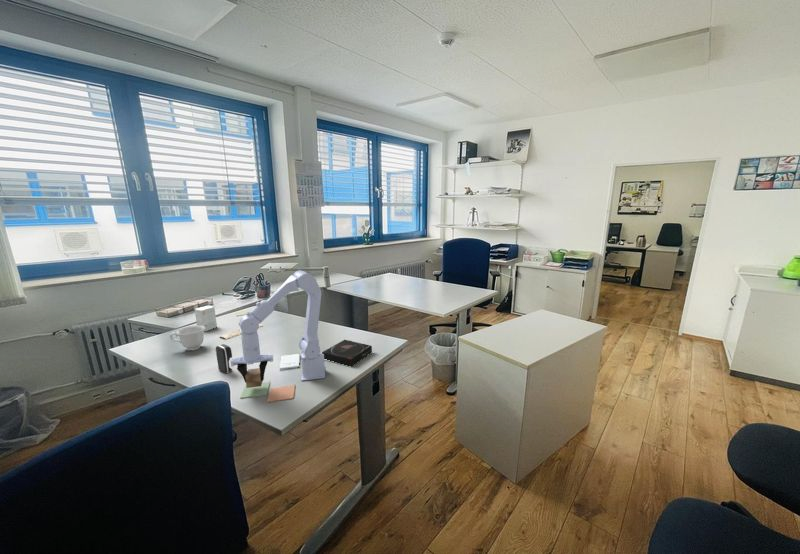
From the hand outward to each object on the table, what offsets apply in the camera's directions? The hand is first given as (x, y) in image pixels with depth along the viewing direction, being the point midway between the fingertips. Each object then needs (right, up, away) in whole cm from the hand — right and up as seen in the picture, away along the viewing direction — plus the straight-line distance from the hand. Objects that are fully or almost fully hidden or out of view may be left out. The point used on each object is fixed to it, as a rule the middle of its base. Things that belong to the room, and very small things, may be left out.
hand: (254, 380), depth 122 cm
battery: (-20, -1, +17) cm, 26 cm away
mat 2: (+11, -5, -2) cm, 12 cm away
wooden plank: (-35, +7, +62) cm, 72 cm away
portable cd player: (+30, +1, +30) cm, 43 cm away
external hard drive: (+6, 0, +23) cm, 24 cm away
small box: (-58, +9, +66) cm, 88 cm away
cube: (0, -1, 0) cm, 1 cm away
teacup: (-50, +3, +39) cm, 63 cm away
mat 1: (0, -4, +1) cm, 4 cm away
